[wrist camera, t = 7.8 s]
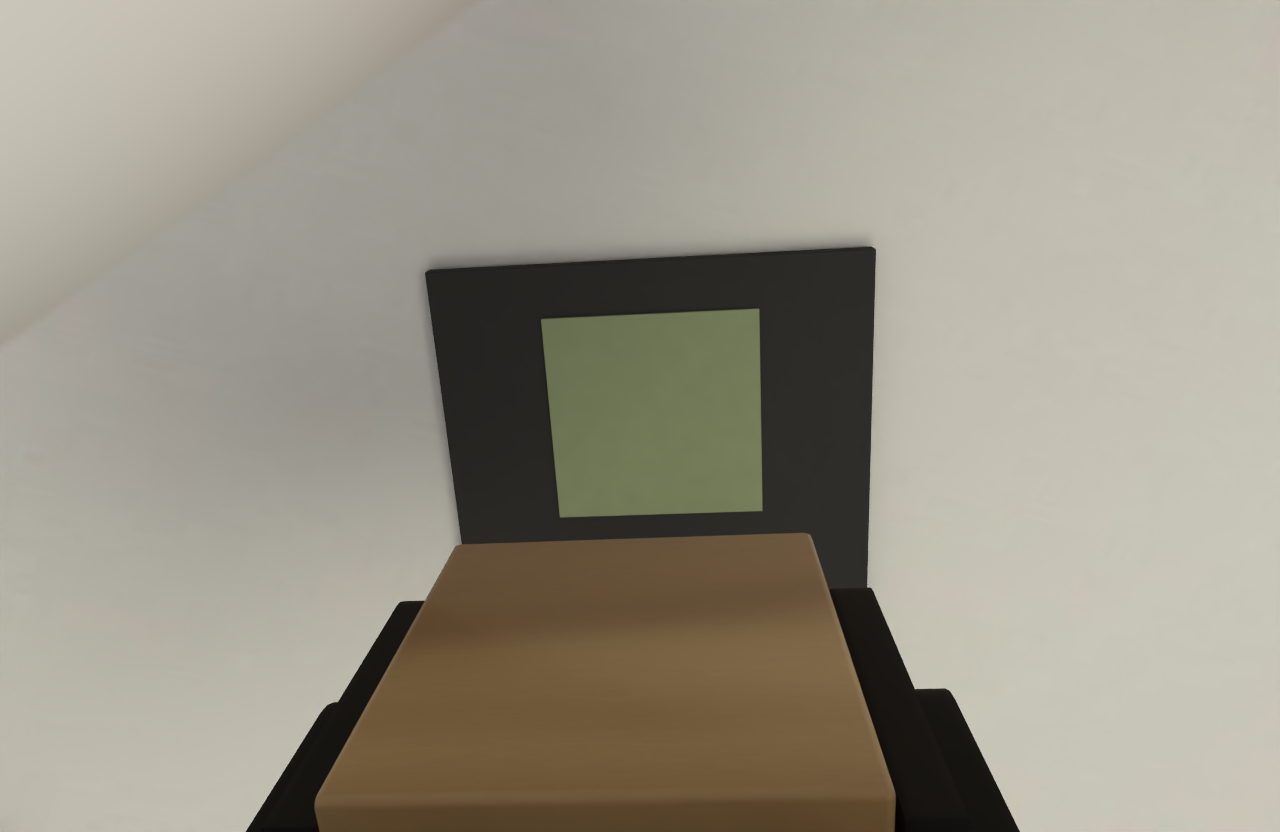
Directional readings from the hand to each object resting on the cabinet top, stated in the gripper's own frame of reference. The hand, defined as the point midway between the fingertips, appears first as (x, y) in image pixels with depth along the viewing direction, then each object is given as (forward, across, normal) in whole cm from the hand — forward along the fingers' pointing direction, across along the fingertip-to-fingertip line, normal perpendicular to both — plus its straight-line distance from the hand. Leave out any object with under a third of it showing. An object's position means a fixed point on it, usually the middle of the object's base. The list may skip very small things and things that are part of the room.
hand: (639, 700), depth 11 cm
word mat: (+12, 0, +8) cm, 14 cm away
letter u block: (0, 0, 0) cm, 0 cm away
